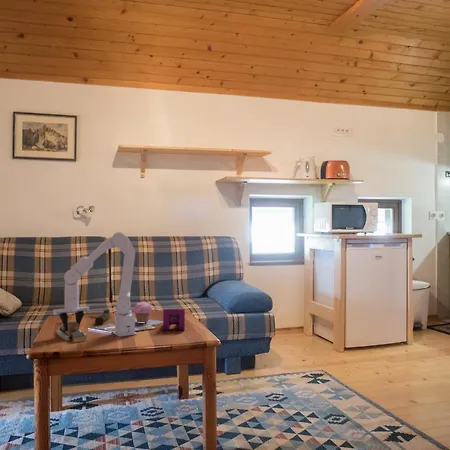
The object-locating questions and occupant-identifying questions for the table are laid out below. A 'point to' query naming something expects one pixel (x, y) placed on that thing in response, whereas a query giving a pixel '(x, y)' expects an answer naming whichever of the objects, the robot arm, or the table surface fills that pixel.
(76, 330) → the near shaft stub
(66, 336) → the cradle
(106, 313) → the dark brown rough bar
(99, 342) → the table surface
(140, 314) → the cupcake
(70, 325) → the block
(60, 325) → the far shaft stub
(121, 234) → the robot arm
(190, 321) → the table surface
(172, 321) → the mounting bracket
